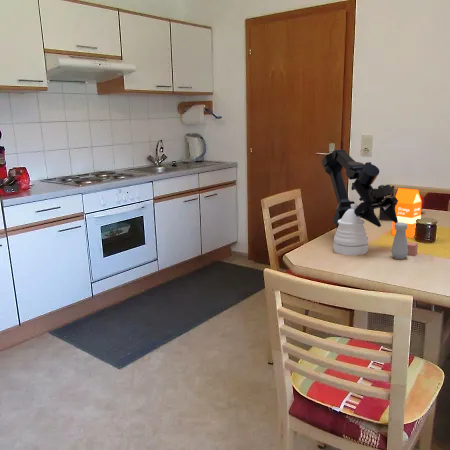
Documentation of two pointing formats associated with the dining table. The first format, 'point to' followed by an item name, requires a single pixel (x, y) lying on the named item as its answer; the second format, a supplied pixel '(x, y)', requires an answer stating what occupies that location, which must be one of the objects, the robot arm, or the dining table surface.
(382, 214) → the coffee grinder
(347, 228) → the honey pot
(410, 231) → the orange juice
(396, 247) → the salt shaker
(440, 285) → the dining table surface
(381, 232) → the dining table surface
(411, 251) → the cube
